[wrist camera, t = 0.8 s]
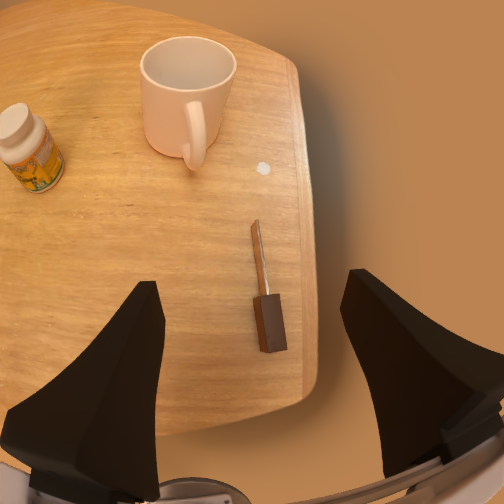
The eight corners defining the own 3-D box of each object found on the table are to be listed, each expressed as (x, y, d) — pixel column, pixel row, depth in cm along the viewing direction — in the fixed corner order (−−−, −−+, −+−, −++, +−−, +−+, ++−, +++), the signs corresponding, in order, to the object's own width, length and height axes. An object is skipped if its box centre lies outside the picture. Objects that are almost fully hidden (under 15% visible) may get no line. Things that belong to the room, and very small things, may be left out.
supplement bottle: (73, 156, 26) (47, 99, 17) (50, 200, 24) (12, 151, 15) (38, 148, 25) (9, 94, 16) (16, 188, 23) (-24, 142, 14)
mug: (232, 185, 30) (260, 123, 20) (152, 198, 27) (144, 135, 18) (210, 100, 32) (226, 34, 22) (141, 108, 29) (139, 40, 20)
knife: (278, 348, 27) (287, 349, 24) (260, 351, 26) (268, 353, 24) (260, 226, 29) (267, 217, 27) (242, 227, 29) (248, 218, 26)
